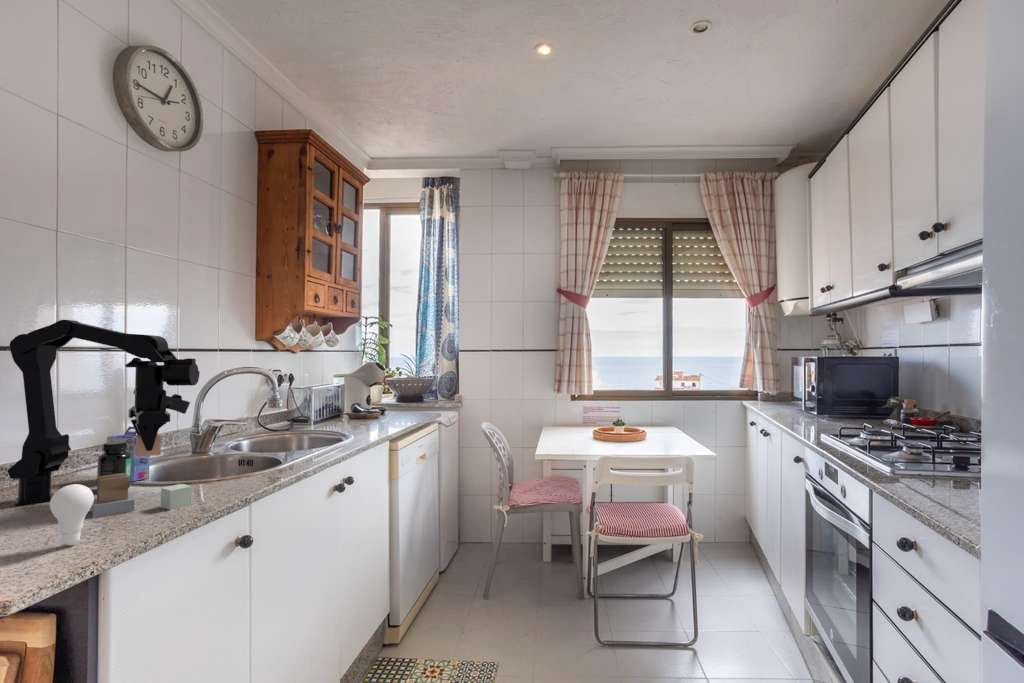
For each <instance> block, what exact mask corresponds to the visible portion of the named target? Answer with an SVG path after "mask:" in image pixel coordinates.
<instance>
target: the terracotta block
mask: <svg viewBox="0 0 1024 683" xmlns="http://www.w3.org/2000/svg"><path fill="white" fill-rule="evenodd" d="M161 445H162V436H161V435H159V434H158V433H157V436H156V439H155V442H154V446H153V449H152V450H151V451H147V450H146V448H145V446H144V443H143V441H142V439H141V436H136V447H135V454H136V455H137V457H142V456H150V457H151V456H158V455H159V456H160V455H161V447H162V446H161Z"/></svg>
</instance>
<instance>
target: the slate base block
mask: <svg viewBox="0 0 1024 683" xmlns="http://www.w3.org/2000/svg"><path fill="white" fill-rule="evenodd" d="M90 511H92V512H91V515H92V518H93V519H96V518H102V517H107V516H108V515H109V516H113V515H114V514H116V515H121V513H122V514H125V513H126V512H128V513H133V512H132V511H134V512H135V498H134V497H133V495H132V493H128V499H127V500H121V501H114V502H108V503H101V504H99V502H98V500H97V497H96V498H95V497H94V501H93V504H92V506H91V508H90ZM114 516H115V515H114Z"/></svg>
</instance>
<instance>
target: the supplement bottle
mask: <svg viewBox="0 0 1024 683" xmlns="http://www.w3.org/2000/svg"><path fill="white" fill-rule="evenodd" d="M102 447H103V448H102V452H103V453H101V454H100V455H99V456H98V457H97V467H96V468H97V470H96V472H97V474H96V481H97V480H98V476H105V475H113V474H121V473H126V474H127V476H128V489H129V488H130V486H131V482H130V477H131V455H130V453H128V452H126V449H127V442H123V441H120V442H108V443H107V442H105V443H103V446H102Z"/></svg>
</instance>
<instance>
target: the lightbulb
mask: <svg viewBox="0 0 1024 683" xmlns="http://www.w3.org/2000/svg"><path fill="white" fill-rule="evenodd" d="M94 499H95V496H94V493H93V491H92V490H91V489H90V488H89V487H88V486H86V485H83V484H80V483H79V484H78V483H77V484H76V483H75V484H69V485H66V486H63V487H62V488H60V489H58V490H57V491H56V492H55V493H54V494H53V496H52V498H51V501H49V509H50V511H51V513H52V515H53V516H54V517H55V519H56V520H57V522H58V526H59V532H60V533H61V536H60V537H61V543H62V544H63V545H66V546H68V547H70V546H74V545H75V544H76V543H78V542H79V541H80V540H81V532H82V529H83V525H84V522H85V519H86V516H87V514H88V513H89V511H91V506H92V504H93V501H94Z"/></svg>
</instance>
